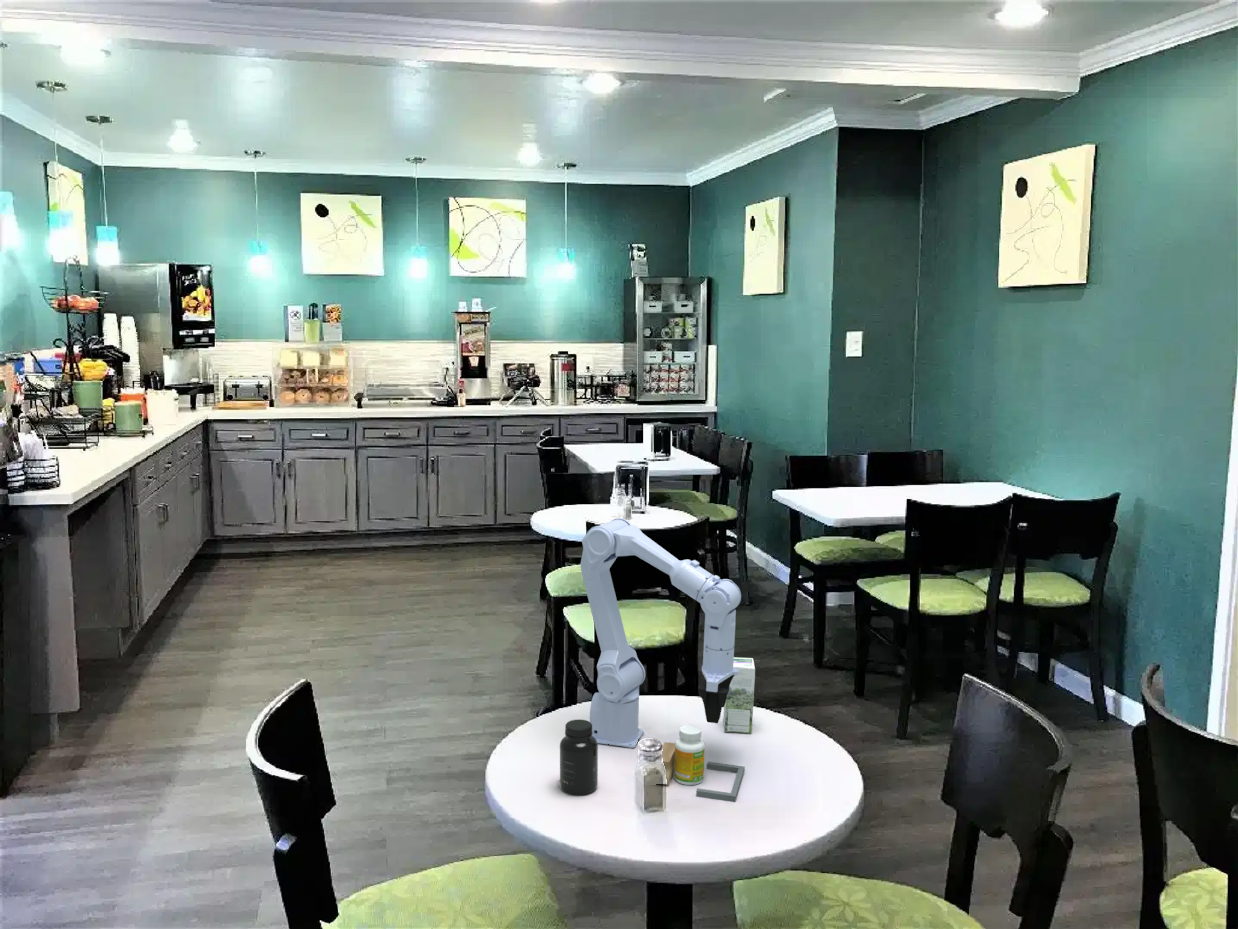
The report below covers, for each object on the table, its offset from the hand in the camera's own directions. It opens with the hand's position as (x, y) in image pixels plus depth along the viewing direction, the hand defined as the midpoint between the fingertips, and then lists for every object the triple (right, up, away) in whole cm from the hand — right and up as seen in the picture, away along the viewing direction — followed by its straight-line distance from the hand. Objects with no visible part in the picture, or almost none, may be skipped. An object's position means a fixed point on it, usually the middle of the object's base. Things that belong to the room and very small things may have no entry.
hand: (715, 714), depth 191 cm
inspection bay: (0, -11, -7) cm, 13 cm away
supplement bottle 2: (-6, -11, -5) cm, 13 cm away
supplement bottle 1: (-26, -11, -9) cm, 30 cm away
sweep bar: (-10, -10, -4) cm, 15 cm away
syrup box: (+6, -7, +17) cm, 20 cm away
